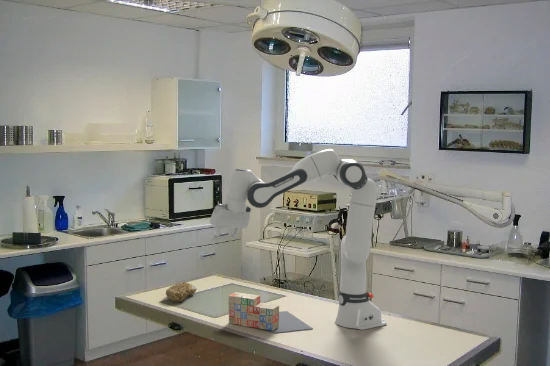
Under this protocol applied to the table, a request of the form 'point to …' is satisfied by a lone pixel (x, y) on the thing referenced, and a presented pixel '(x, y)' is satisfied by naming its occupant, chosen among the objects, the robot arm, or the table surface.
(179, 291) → the brown rock
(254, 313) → the stack of blocks
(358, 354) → the table surface
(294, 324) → the mat
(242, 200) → the robot arm
